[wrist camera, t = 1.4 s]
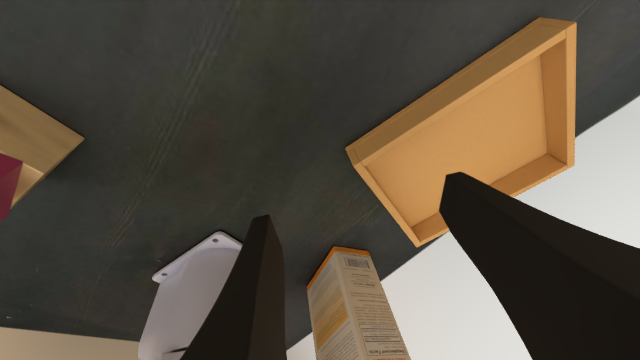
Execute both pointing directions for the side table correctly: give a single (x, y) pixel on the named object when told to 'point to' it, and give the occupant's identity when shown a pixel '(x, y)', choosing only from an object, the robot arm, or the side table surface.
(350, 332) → the supplement box
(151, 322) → the robot arm
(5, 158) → the pink block
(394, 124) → the tray
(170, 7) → the side table surface
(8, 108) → the base block
